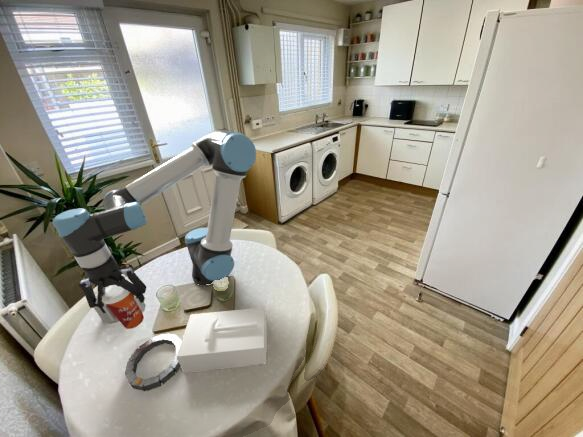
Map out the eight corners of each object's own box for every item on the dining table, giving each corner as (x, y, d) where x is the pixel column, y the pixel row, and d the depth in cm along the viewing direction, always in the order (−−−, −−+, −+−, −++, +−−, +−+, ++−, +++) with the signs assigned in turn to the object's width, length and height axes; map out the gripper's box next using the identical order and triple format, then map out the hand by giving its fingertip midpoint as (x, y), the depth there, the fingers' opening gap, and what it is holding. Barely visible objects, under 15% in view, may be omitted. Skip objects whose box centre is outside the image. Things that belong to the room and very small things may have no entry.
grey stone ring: (185, 332, 84) (183, 326, 83) (183, 377, 71) (180, 372, 70) (134, 348, 80) (131, 342, 79) (122, 399, 67) (118, 394, 65)
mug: (110, 329, 87) (98, 310, 82) (97, 317, 92) (85, 298, 87) (146, 303, 97) (137, 285, 92) (132, 293, 102) (123, 275, 97)
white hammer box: (196, 330, 85) (188, 309, 80) (267, 323, 86) (263, 302, 81) (184, 373, 73) (173, 351, 67) (266, 364, 74) (262, 342, 68)
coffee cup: (135, 333, 78) (115, 302, 71) (114, 330, 80) (92, 299, 72) (152, 312, 85) (136, 281, 78) (133, 309, 87) (115, 279, 79)
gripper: (139, 244, 75) (164, 295, 86) (59, 262, 69) (97, 314, 81) (134, 258, 69) (161, 311, 80) (46, 279, 63) (88, 333, 75)
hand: (129, 312), depth 80 cm, fingers closed on coffee cup, 8 cm apart
